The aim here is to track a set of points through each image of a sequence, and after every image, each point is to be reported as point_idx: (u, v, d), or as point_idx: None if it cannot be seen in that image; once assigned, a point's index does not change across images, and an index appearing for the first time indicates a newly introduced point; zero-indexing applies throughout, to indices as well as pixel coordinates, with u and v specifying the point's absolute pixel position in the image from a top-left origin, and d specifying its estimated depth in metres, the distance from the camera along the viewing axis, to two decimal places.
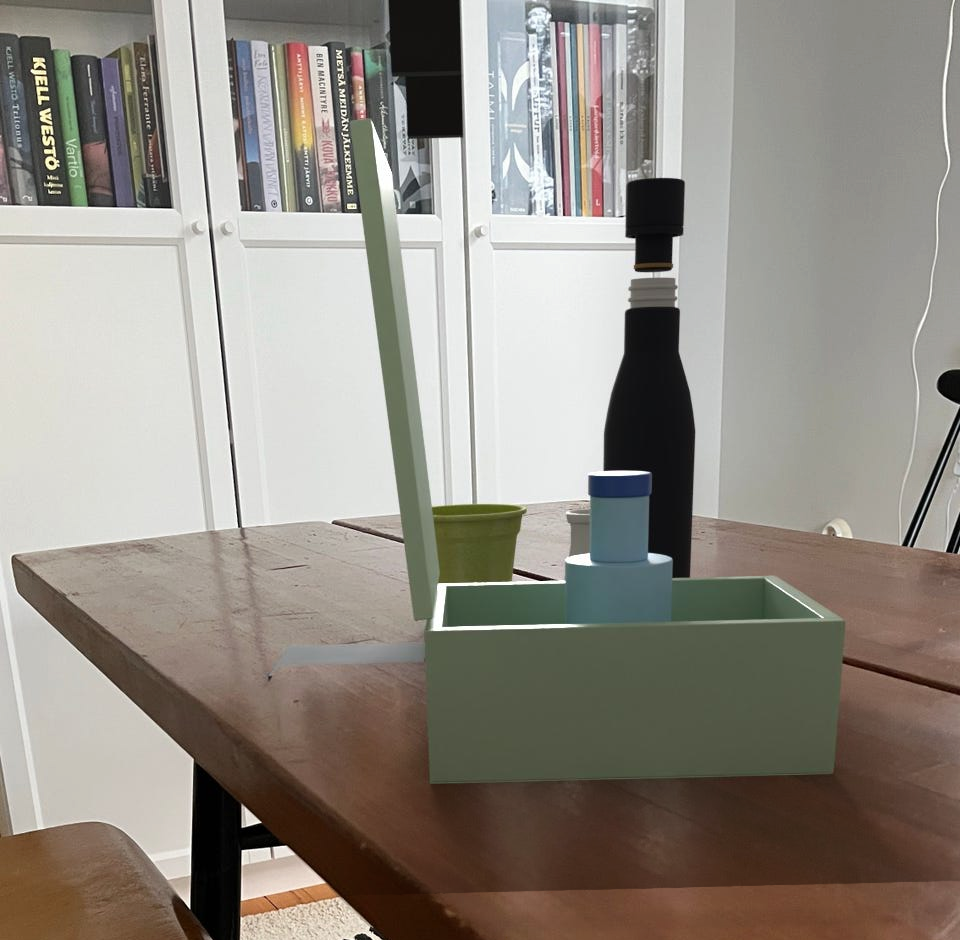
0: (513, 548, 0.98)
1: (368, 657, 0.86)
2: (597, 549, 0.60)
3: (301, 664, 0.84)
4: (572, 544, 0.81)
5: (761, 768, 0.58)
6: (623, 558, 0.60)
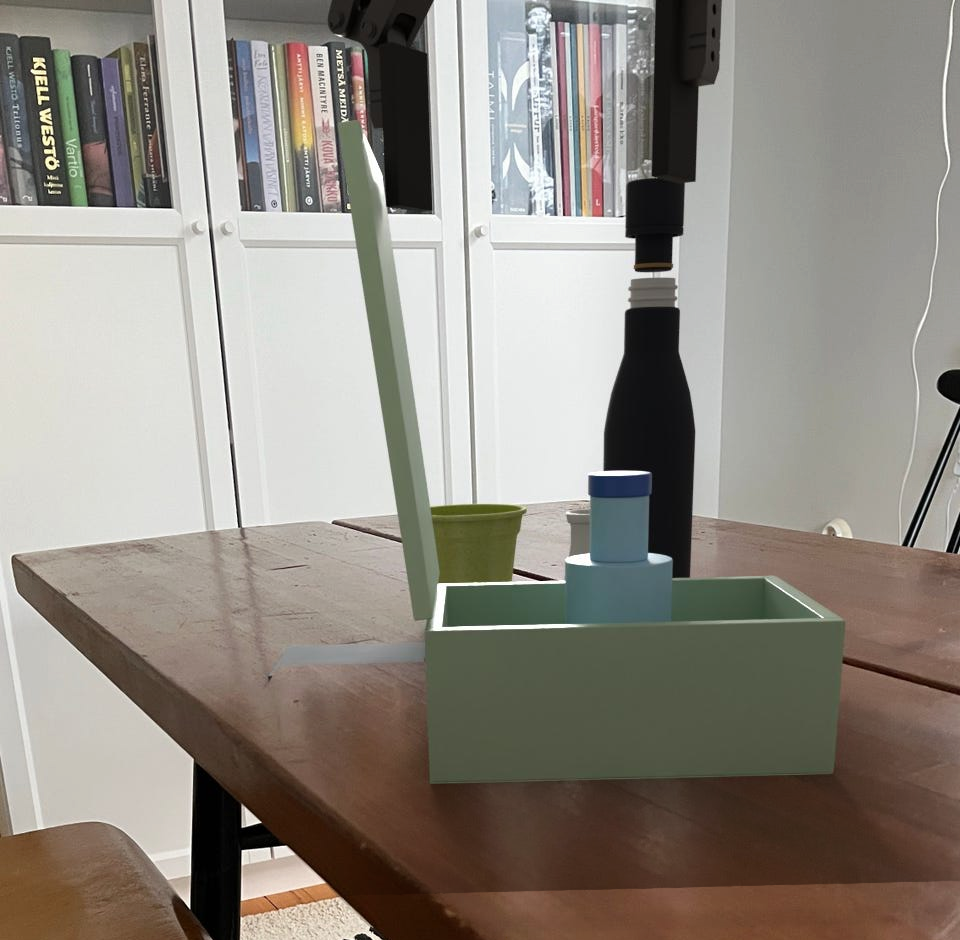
0: (513, 548, 0.98)
1: (368, 657, 0.86)
2: (597, 549, 0.60)
3: (301, 664, 0.84)
4: (572, 544, 0.81)
5: (761, 768, 0.58)
6: (623, 558, 0.60)
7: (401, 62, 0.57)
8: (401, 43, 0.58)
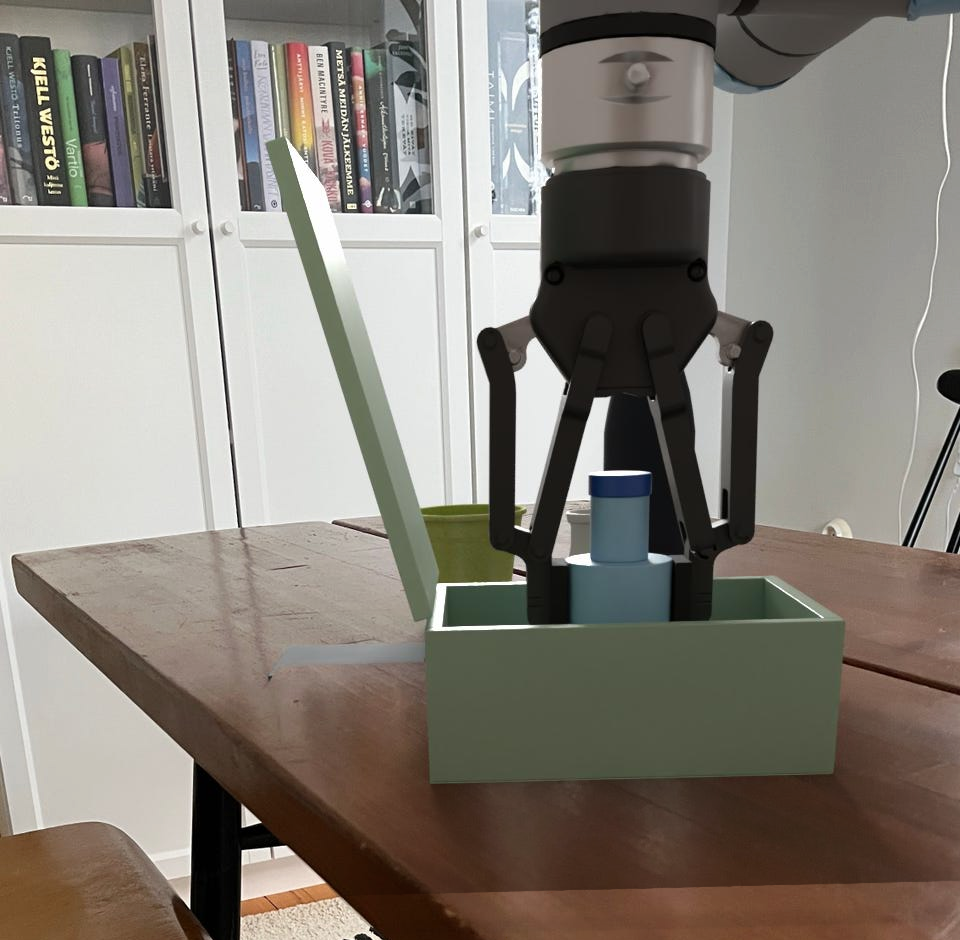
0: None
1: (368, 657, 0.86)
2: (597, 549, 0.60)
3: (301, 664, 0.84)
4: (572, 544, 0.81)
5: (761, 768, 0.58)
6: (623, 558, 0.60)
7: None
8: None
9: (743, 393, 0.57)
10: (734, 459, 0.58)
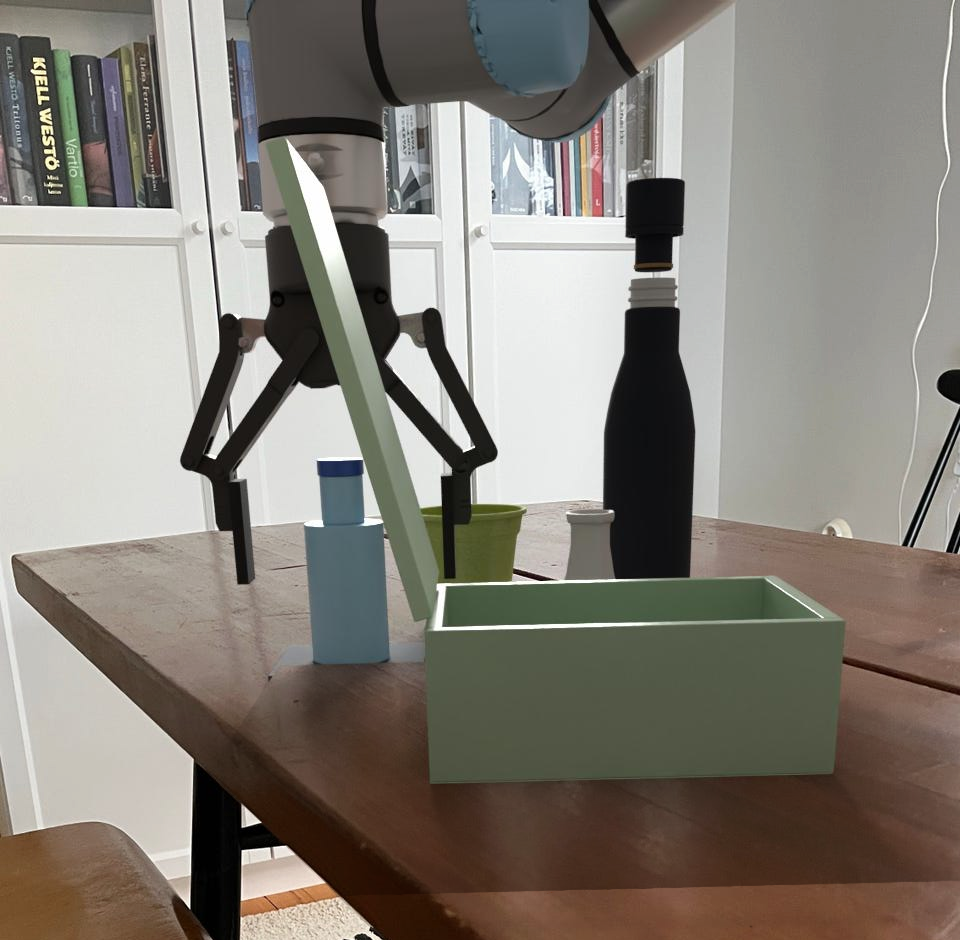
0: (513, 548, 0.98)
1: None
2: (324, 515, 0.82)
3: (301, 664, 0.84)
4: (572, 544, 0.81)
5: (761, 768, 0.58)
6: (342, 521, 0.81)
7: (242, 491, 0.81)
8: (232, 474, 0.82)
9: (440, 361, 0.78)
10: (457, 407, 0.79)
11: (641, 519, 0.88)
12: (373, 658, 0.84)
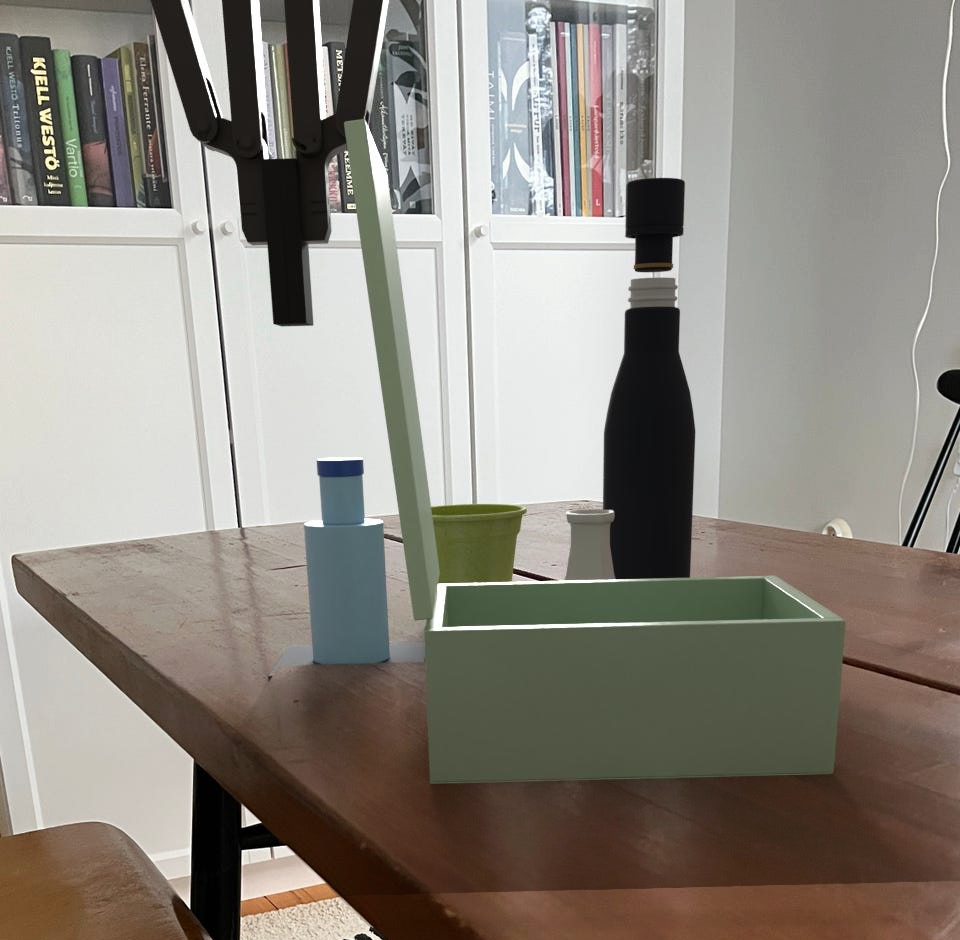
0: (513, 548, 0.98)
1: None
2: (324, 515, 0.82)
3: (301, 664, 0.84)
4: (572, 544, 0.81)
5: (761, 768, 0.58)
6: (342, 521, 0.81)
7: None
8: (268, 145, 0.55)
9: None
10: (352, 30, 0.52)
11: (641, 519, 0.88)
12: (373, 658, 0.84)
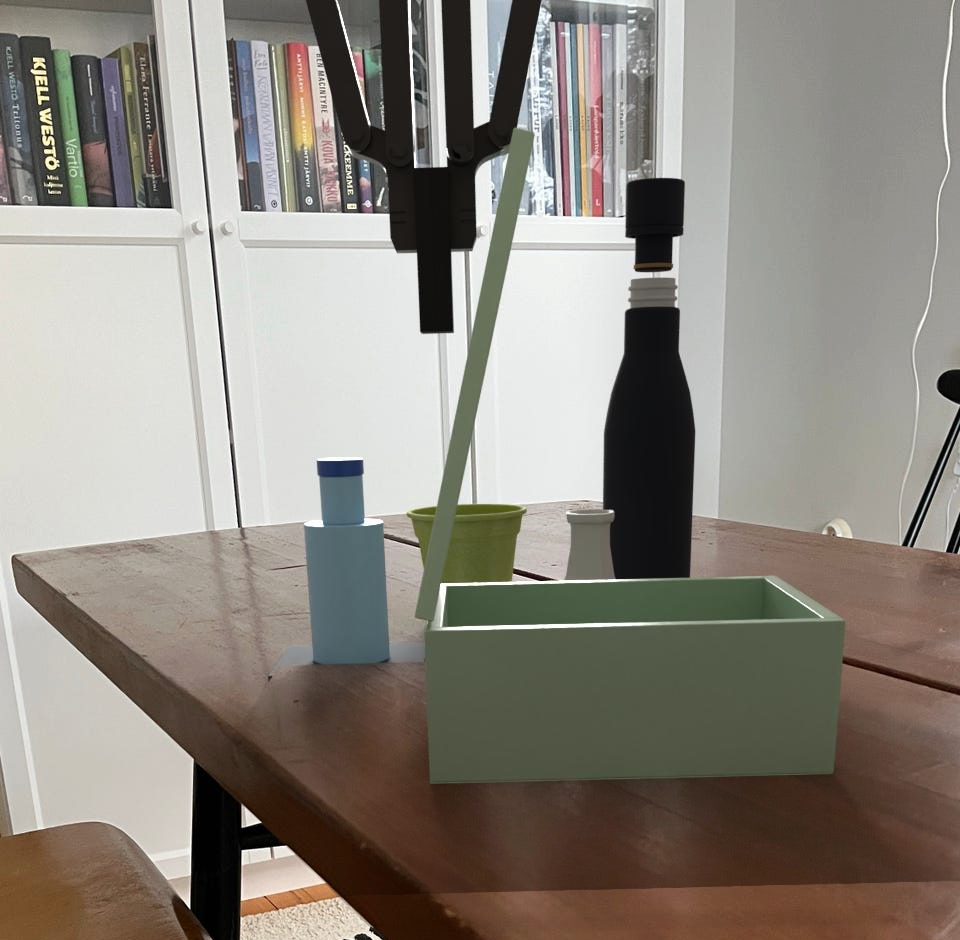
0: (513, 548, 0.98)
1: None
2: (324, 515, 0.82)
3: (301, 664, 0.84)
4: (572, 544, 0.81)
5: (761, 768, 0.58)
6: (342, 521, 0.81)
7: None
8: None
9: None
10: (508, 39, 0.52)
11: (641, 519, 0.88)
12: (373, 658, 0.84)
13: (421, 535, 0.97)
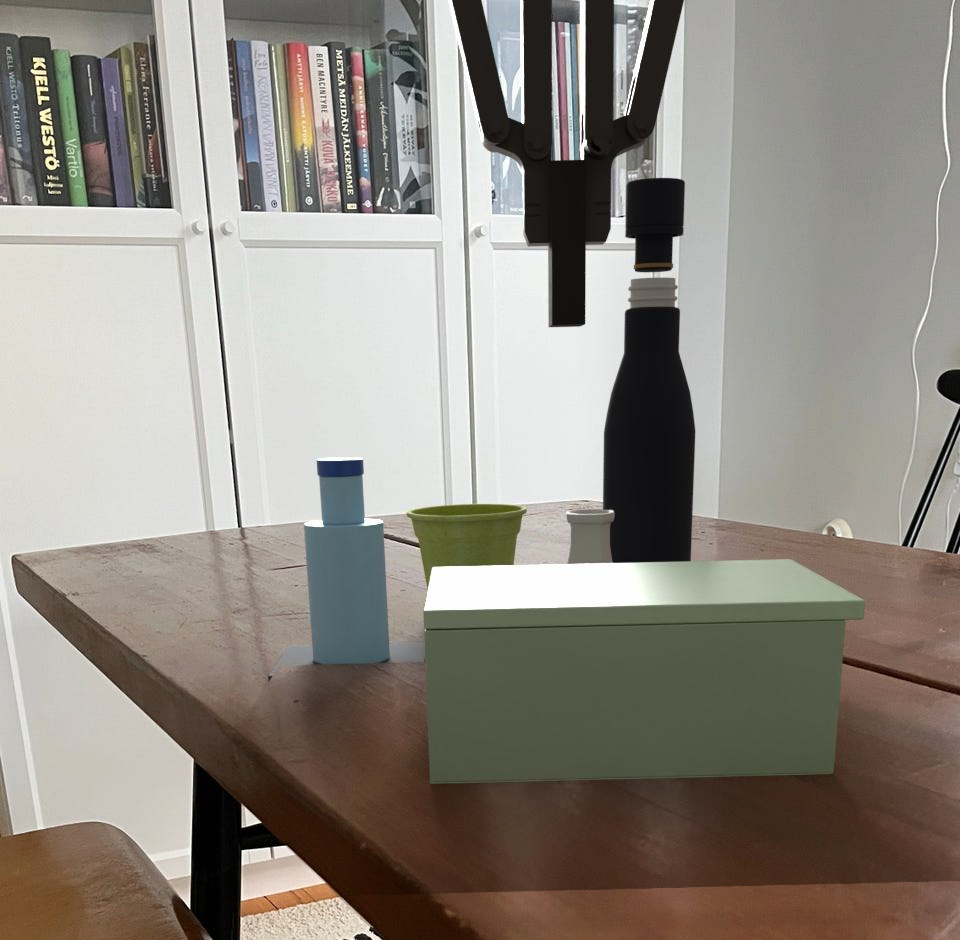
0: (513, 548, 0.98)
1: None
2: (324, 515, 0.82)
3: (301, 664, 0.84)
4: (572, 544, 0.81)
5: (761, 768, 0.58)
6: (342, 521, 0.81)
7: None
8: None
9: None
10: (651, 32, 0.52)
11: (641, 519, 0.88)
12: (373, 658, 0.84)
13: (421, 535, 0.97)
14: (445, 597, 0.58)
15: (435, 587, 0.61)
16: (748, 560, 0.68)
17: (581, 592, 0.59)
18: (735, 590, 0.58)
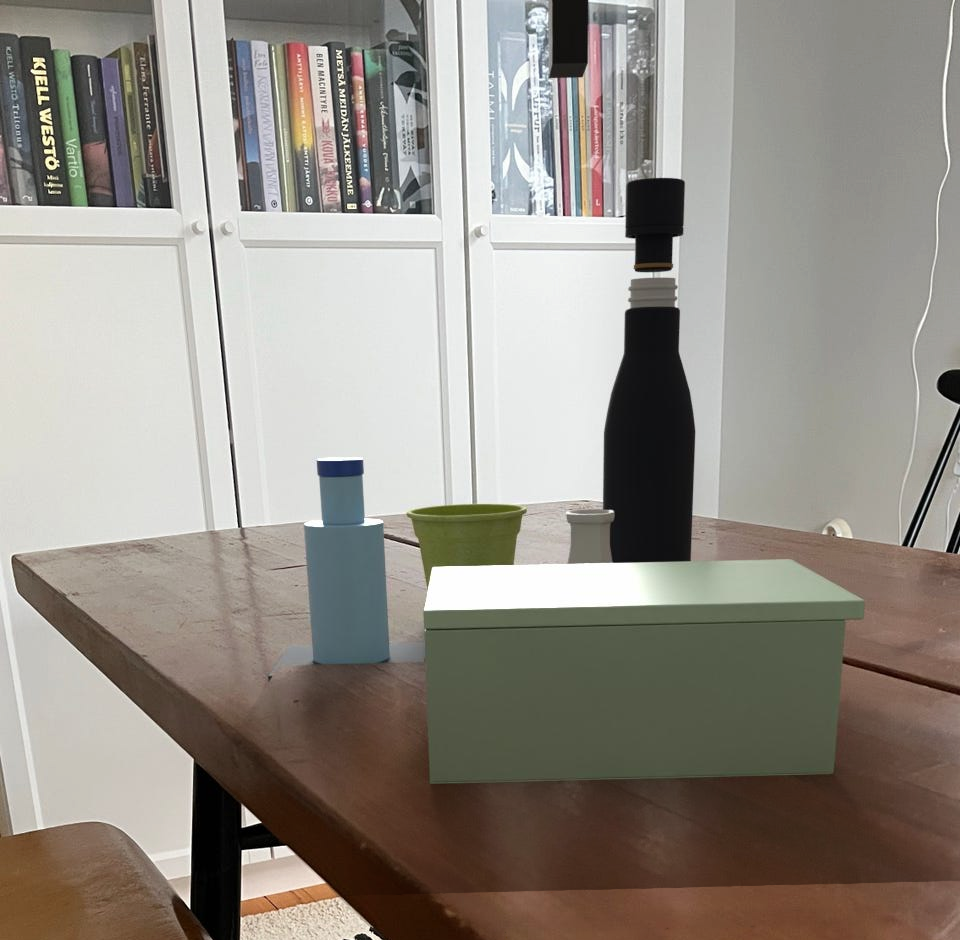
0: (513, 548, 0.98)
1: None
2: (324, 515, 0.82)
3: (301, 664, 0.84)
4: (572, 544, 0.81)
5: (761, 768, 0.58)
6: (342, 521, 0.81)
7: None
8: None
9: None
10: None
11: (641, 519, 0.88)
12: (373, 658, 0.84)
13: (421, 535, 0.97)
14: (445, 597, 0.58)
15: (435, 587, 0.61)
16: (748, 560, 0.68)
17: (581, 592, 0.59)
18: (735, 590, 0.58)
